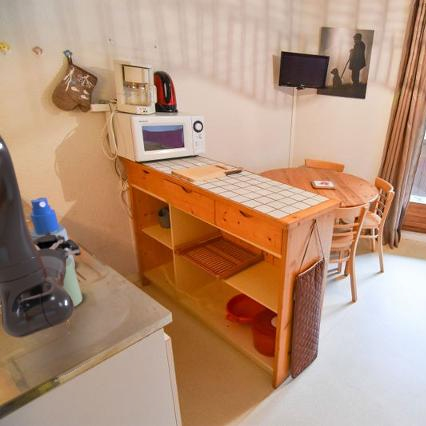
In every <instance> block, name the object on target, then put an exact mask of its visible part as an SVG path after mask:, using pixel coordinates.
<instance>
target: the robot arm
mask: <svg viewBox="0 0 426 426" xmlns="http://www.w3.org/2000/svg"><path fill="white" fill-rule="evenodd" d="M21 195H22V194H21V190H20V186H19V181H18V177H17V174H16V170H15V165H14V162H13V158H12V155H11V152H10V150H9V148H8V145H7V143H6V141H5V139H4V138H3V137H2V135H1V134H0V308H1V309H0V310H1V325H2V328H3V330H4V332H5V333H6V334H7V335H8V336H11V337H12V338H13V337H14V338H17V339H18V338H19V339H20V338H21V339H22V338H26V337H29V336H31V335H34V334H37V333H40V332H42V331H43V332H44V331H46V330H48V329H51V328H53V327H56V326H59V325H61V324H64V323H66V322H67V321H69V320H70V319H71V318H72V316H73V314H74V313H75V307H74V303H73V301H72V299H71V297H70V295H69V294H68V293H67V292H66V291H65V289H64V279H65V275H66V259H67V258H68V257H69V255H73V256H80V255H82V253H81V249H80V248H81V247H80V245H78V243H76V242H75V241H74V240H73V239H69V238H68V240H67V241H65V238H64V237H61V235H59V236H57V243H54V244H53V246H52V247H50V248H47V249H40V248H39V245H38V242H37V239H35V241H33V240H32V237H31V234H30V232H31V231H30V228H29V226H28V222H27V218H26V213H25V208H24V204H23V199H22V196H21ZM65 248H68V249H69V250H68V251H66V250H65Z"/></svg>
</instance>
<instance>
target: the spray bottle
mask: <svg viewBox="0 0 426 426" xmlns="http://www.w3.org/2000/svg"><path fill="white" fill-rule="evenodd" d="M30 203H31V206H32V207H31V211H32V212H30V214H29V217H30V220H31V223H32V226H33V229H32V230H31V231H30V234H31V237H32V240H33V241H35V239H38V238H39V237H42V236H45V235H46V232H47V231H50V232H51V234H50V235H56V236H59V235H61V237H64V238H65V241H67V240H69V237H68V232H67V229H66V228H65V226H64V225H62V224H59V221H58V218H57V213H56V210H55V209H52V207H51V205H50V204H49V201H48V198H47V197H38V198H37V199H31V200H30ZM65 250H66V251H68V250H69V249H68V248H65ZM69 258H71V259H72V260H73V264H74V267H75V268H76V266H75V265H76V264H75V263H76V262H75V260H74V255H69Z"/></svg>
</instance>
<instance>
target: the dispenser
mask: <svg viewBox="0 0 426 426" xmlns="http://www.w3.org/2000/svg"><path fill="white" fill-rule="evenodd" d="M64 289H65V291H66V292H67V293H68V294H69V295H70V297H71V299H72V301H73V303H74V308H75V307H77V306H78V305H79V304H81V302H82V301H83V294H82V291H81V286H80V283H79V279H78V275H77V271H76V266H75V267H74V264H73V260H72V259H71V258H69V257H68V258H67V259H66V275H65V279H64Z"/></svg>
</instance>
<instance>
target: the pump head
mask: <svg viewBox="0 0 426 426" xmlns="http://www.w3.org/2000/svg"><path fill="white" fill-rule="evenodd" d="M50 234H51V232H50V231H47V232H46V235H45V236H42V237H39V238H38V239H37V242H38V245H39V248H40V249H47V248H50V247H52V246H53V244H54V243H57V236H56V235H50Z"/></svg>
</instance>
